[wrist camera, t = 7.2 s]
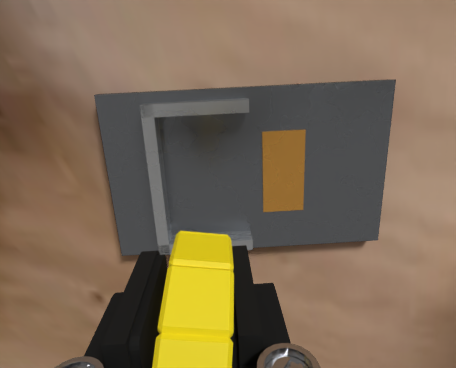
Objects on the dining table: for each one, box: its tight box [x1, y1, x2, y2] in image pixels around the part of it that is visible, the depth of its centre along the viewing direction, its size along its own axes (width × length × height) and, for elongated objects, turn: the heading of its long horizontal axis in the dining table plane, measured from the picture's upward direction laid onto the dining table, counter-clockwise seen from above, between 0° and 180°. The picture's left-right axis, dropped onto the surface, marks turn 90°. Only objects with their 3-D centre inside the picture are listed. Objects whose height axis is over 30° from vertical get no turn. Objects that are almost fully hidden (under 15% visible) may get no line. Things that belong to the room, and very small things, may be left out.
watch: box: [152, 231, 234, 368], centre depth 8 cm, size 6×3×6 cm, turn 174°
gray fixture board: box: [94, 80, 396, 256], centre depth 23 cm, size 20×12×3 cm, turn 93°
